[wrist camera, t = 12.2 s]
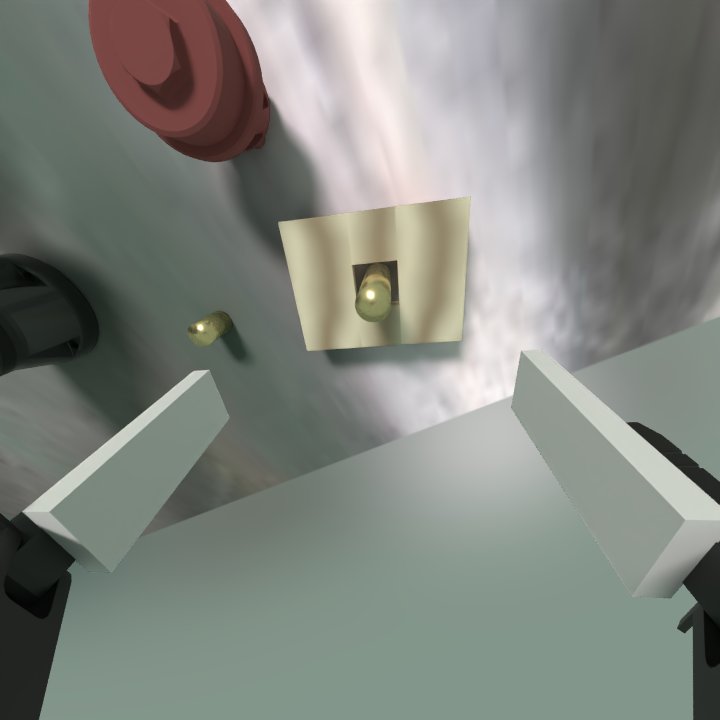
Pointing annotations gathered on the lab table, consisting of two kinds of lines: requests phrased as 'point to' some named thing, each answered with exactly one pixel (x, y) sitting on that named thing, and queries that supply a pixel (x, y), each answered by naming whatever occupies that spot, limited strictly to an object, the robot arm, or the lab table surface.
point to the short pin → (209, 328)
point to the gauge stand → (379, 244)
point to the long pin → (374, 294)
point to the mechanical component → (184, 73)
